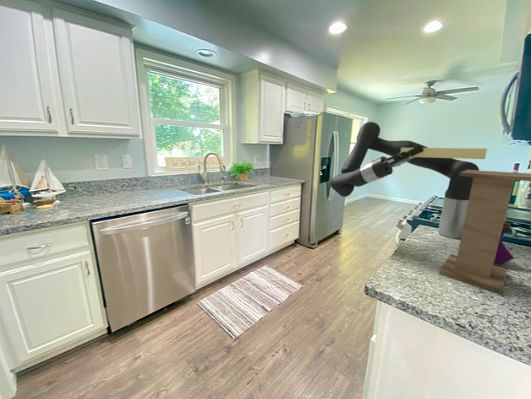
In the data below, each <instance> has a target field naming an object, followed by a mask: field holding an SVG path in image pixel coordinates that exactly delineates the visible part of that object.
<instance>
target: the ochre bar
mask: <svg viewBox="0 0 531 399" xmlns="http://www.w3.org/2000/svg"><path fill="white" fill-rule="evenodd" d="M411 149H413V148H401V153H402V152H406V151H408V150H411ZM423 150H424V151H423V152H421V153H419V154H416V155H414V156H412V157H432V158H453V159H465V160H466V159H468V160H470V159H471V160H486V156H487V152H488V148H485V147H484V148H483V147H482V148H479V147H478V148H477V147H476V148H475V147H473V148H471V147H470V148H469V147H467V148H465V147H462V148H461V147H451V148H450V147H428V148H423Z"/></svg>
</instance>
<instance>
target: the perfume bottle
mask: <svg viewBox="0 0 531 399" xmlns="http://www.w3.org/2000/svg"><path fill="white" fill-rule="evenodd" d="M508 217H509V213H508V211H507V212H506V216H505V220H504V224H503V228H502V232H501V236H500V240H499V244H498V248H497V252H496V256H495V260H494V264H495V265H503V264H505V263H509V262H510V261H512V260H514V259H515V257H514V256H513V255H512V254H511V252H510V251H509V250H508V249H507V247H506V246H505V245H504V243H503V236H505V234H506V233H507V232H510V231H512V228H511V227H510V226H511V224H512V223H511V222H508V221H506V219H507V218H508Z"/></svg>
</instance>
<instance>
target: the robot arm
mask: <svg viewBox="0 0 531 399" xmlns="http://www.w3.org/2000/svg"><path fill="white" fill-rule="evenodd" d="M380 135H381V127H380V125H379V124H378V123H376V122H374V121H368V122H365V123H363V124H362V126H361V127H360V128H359V131H358V133H357V137H356V142H355V144H354V146H353V148H352V150H351V152H350V154H348V156H347V159H346V160H345V161H344V164H343V166H342V167H341V169H340V172H341V173H339V174H336V175H335V176H333V177H332V178H331V179H330V182H329V185H330V186H329V187H331V188H332V190H334V191H335V192H336V193H337V194H338V195H339V196H340V197H342V198H346V197H349V196H350V195H351V194H352V193H353V192H354V190H355V187H357V188H360V187H363V186H365V185H367V184H370V183H372V182H376V181H378V180H381V179H384V178H385V177H388V176H390V175H392V174H393V173H394V169H393V168H397V167H400V166H402V165H403V164H405V163H407V164H410V165H413V166H416V167H420V168H423V169H428V170H431V171H434V172H437V173H438V174H440V175H442V176H444V177H446V178H448V179H449V181H448V187H447V189H446V190H445V192H444V199H443V203H442V209H441V215H440V220H439V225H438V230H437V233H438V234H439V235H441V236H444V237H447V238H452V239H461V235H462V230H463V226H464V221H465V216H466V211H467V206H468V202H469V197H470V192H471V187H472V182H473V178H474V177H466V176H459V174H460V172H463V171H465V170H479V171H480V168H479V166H478V165H477V164H476V163H474V162H471V161H465V160H459V159H457V158H432V157H412V156H414V155H416V154H419V153H421V152H423V151H424V150H423V148H429V147H428V146H425V145H423V144H421V143H418V142H415V141H412V140H406V139H405V140H388V139H384V138H381V137H379V136H380ZM401 148H413V149H411V150H408V151H406V152H402V153H401ZM369 150H372V151H375V152H378V153H382V154H385V155H387V156H390V157H386V156H381V157H378V158H376V159H374V160H371V161H370V162H368V163H366V164H365V165H362V164H363V162H364V160H365V157H366V155H367V153H368V151H369ZM361 166H362V167H361Z"/></svg>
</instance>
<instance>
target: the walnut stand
mask: <svg viewBox="0 0 531 399" xmlns="http://www.w3.org/2000/svg"><path fill="white" fill-rule="evenodd" d="M459 176H466V177H474V178H473V182H472V187H471V192H470V197H469V202H468V206H467V211H466V216H465V221H464V226H463V230H462V235H461V238H460V241H459V247H458V250H457V255H455V254H454V253H453V254H451V253H450V254H449V256H448V258H447V259H446V260H445V261H444V263H443V264H442V265H441V267H440V268H439V273H438V274H439V275H442V276H444V277H448V278H450V279H454V280H458V281H460V282H463V283H466V284H468V285H472V286H475V287H477V288H481V289H484V290H487V291H490V292H493V293H495V294H498V295H502V294H503V290H504V285H505V280H506V274H507V268H503V267H499V266H496V265H494V260H495V256H496V252H497V248H498V244H499V240H500V236H501V232H502V228H503V224H504V220H505V216H506V212H507V213H508V207H509V204H510V200H511V195H512V192H513V188H514V183H515V181H522V182H523V181H524V182H531V173H529V172H513V171H512V172H510V171H496V170H495V171H494V170H492V171H491V170H480V169H479V170H465V171H463V172H460V174H459ZM505 221H506V220H505Z"/></svg>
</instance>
